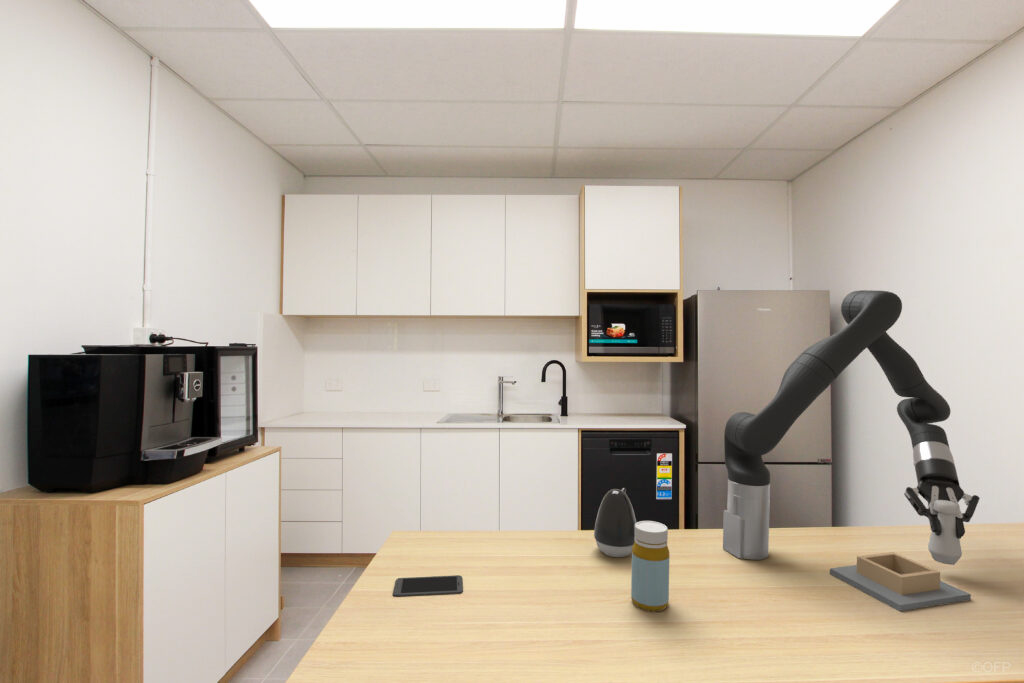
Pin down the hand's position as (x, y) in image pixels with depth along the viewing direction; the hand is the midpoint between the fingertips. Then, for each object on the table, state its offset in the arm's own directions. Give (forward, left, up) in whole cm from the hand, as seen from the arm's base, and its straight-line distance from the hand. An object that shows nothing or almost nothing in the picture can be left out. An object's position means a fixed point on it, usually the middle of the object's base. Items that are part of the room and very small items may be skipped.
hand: (948, 535), depth 114 cm
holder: (-14, 0, -10) cm, 17 cm away
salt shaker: (+1, +2, -7) cm, 7 cm away
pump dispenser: (-64, +29, -10) cm, 71 cm away
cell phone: (-108, +23, -10) cm, 111 cm away
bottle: (-68, +6, -10) cm, 69 cm away
